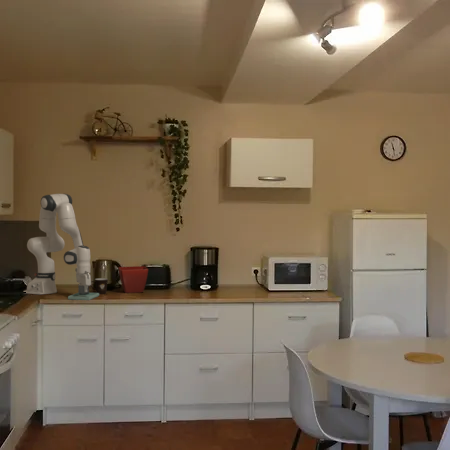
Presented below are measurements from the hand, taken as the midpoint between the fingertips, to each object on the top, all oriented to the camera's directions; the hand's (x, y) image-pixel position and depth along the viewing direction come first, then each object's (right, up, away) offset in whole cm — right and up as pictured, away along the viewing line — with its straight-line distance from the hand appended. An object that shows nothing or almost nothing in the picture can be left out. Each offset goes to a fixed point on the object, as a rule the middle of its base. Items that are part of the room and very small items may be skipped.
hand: (83, 290), depth 374 cm
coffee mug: (+7, -4, +17) cm, 19 cm away
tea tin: (0, -2, 0) cm, 2 cm away
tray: (0, -5, 0) cm, 5 cm away
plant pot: (+29, -4, +27) cm, 39 cm away
